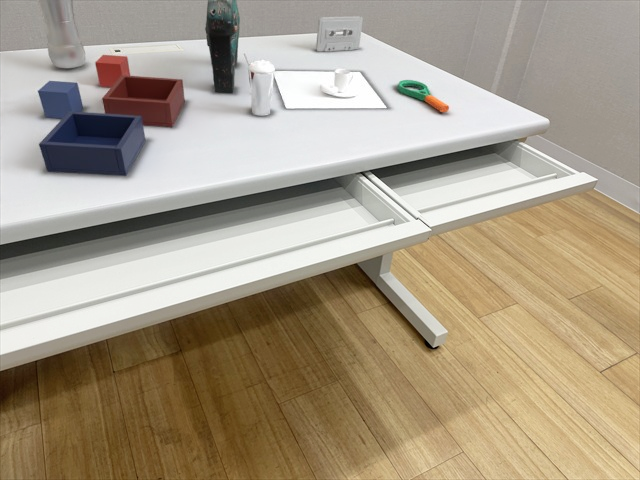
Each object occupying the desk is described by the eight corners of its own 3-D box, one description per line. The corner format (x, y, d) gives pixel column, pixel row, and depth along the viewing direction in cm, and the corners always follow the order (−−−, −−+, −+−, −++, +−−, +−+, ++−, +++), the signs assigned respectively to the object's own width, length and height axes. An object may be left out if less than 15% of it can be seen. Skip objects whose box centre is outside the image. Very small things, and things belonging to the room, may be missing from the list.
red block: (99, 86, 89) (94, 62, 86) (107, 78, 93) (102, 54, 90) (124, 88, 89) (120, 64, 87) (131, 79, 93) (127, 56, 90)
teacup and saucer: (321, 99, 93) (323, 78, 91) (314, 84, 99) (315, 64, 97) (364, 99, 95) (367, 79, 93) (354, 84, 101) (356, 65, 99)
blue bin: (47, 171, 65) (38, 143, 62) (75, 136, 73) (69, 111, 71) (126, 175, 66) (121, 148, 63) (145, 140, 74) (141, 115, 71)
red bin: (106, 123, 78) (101, 98, 75) (125, 97, 86) (121, 74, 83) (172, 127, 79) (169, 102, 76) (184, 101, 87) (182, 79, 84)
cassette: (318, 52, 116) (320, 18, 112) (314, 49, 118) (317, 16, 113) (360, 49, 121) (364, 17, 116) (356, 47, 122) (360, 15, 118)
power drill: (237, 97, 91) (235, -20, 78) (203, 95, 90) (195, -23, 77) (244, 62, 106) (242, -40, 94) (214, 60, 105) (209, -43, 93)
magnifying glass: (392, 86, 102) (393, 78, 101) (415, 84, 104) (417, 76, 103) (431, 115, 92) (433, 106, 91) (456, 112, 94) (458, 104, 93)
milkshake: (248, 105, 88) (248, 49, 82) (276, 109, 88) (278, 54, 81) (240, 114, 85) (239, 57, 78) (269, 119, 84) (270, 62, 78)
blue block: (45, 117, 77) (37, 90, 75) (56, 106, 81) (49, 80, 78) (73, 119, 78) (67, 92, 75) (83, 108, 81) (77, 82, 78)
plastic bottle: (45, 66, 95) (13, -50, 82) (76, 58, 99) (50, -52, 87) (64, 74, 92) (34, -44, 80) (95, 66, 97) (71, -47, 84)
